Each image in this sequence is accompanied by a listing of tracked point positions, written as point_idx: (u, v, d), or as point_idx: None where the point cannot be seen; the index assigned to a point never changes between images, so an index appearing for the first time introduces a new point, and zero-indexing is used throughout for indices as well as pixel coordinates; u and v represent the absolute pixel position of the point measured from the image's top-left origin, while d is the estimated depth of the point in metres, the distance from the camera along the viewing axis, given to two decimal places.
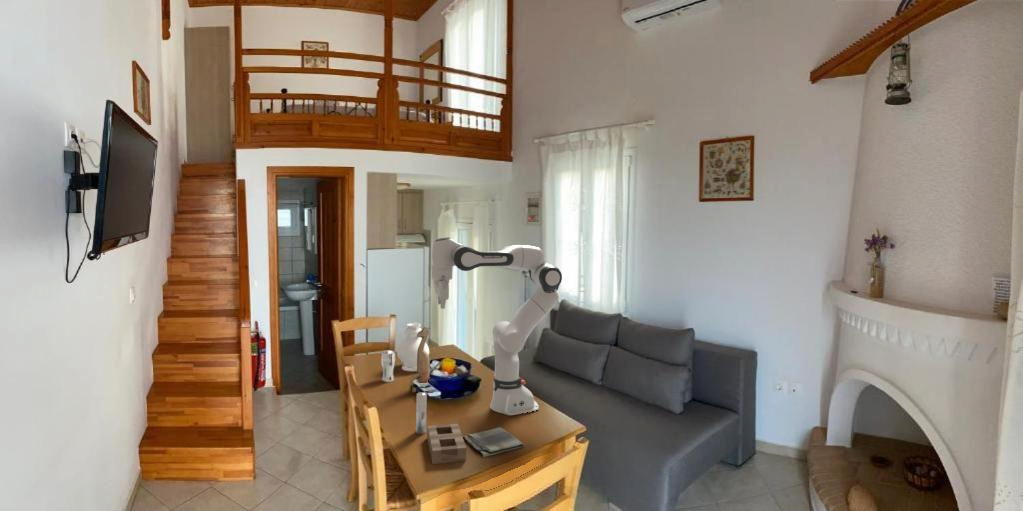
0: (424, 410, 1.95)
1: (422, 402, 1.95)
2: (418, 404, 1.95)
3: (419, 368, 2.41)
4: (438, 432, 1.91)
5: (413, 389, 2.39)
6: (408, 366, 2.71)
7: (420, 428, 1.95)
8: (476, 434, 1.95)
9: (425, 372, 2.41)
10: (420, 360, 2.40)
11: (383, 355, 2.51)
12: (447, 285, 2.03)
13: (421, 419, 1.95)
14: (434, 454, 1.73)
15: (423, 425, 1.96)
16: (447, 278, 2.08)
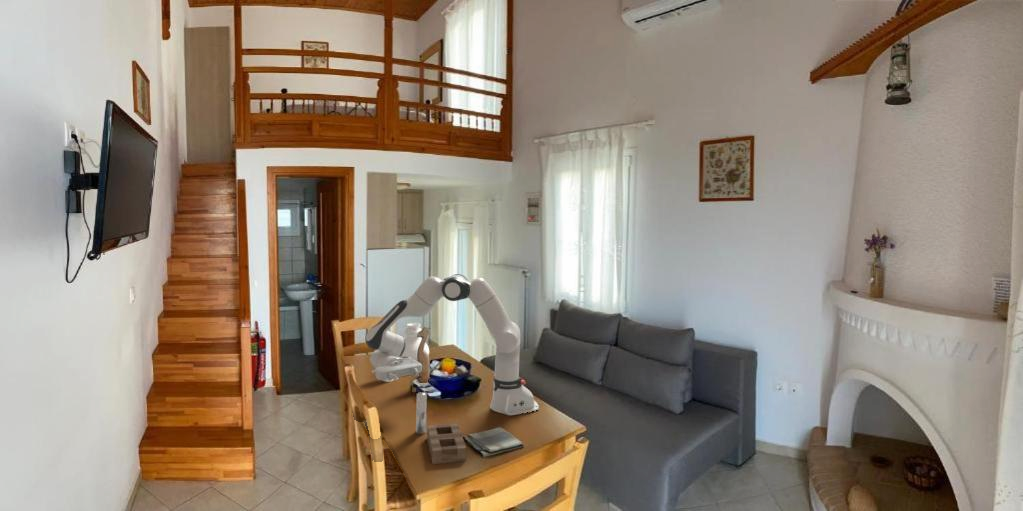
0: (424, 410, 1.95)
1: (422, 402, 1.95)
2: (418, 404, 1.95)
3: None
4: (438, 432, 1.91)
5: (413, 389, 2.39)
6: None
7: (420, 428, 1.95)
8: (476, 434, 1.95)
9: (425, 372, 2.41)
10: (420, 360, 2.40)
11: None
12: (375, 370, 2.07)
13: (421, 419, 1.95)
14: (434, 454, 1.73)
15: (423, 425, 1.96)
16: (385, 364, 2.12)
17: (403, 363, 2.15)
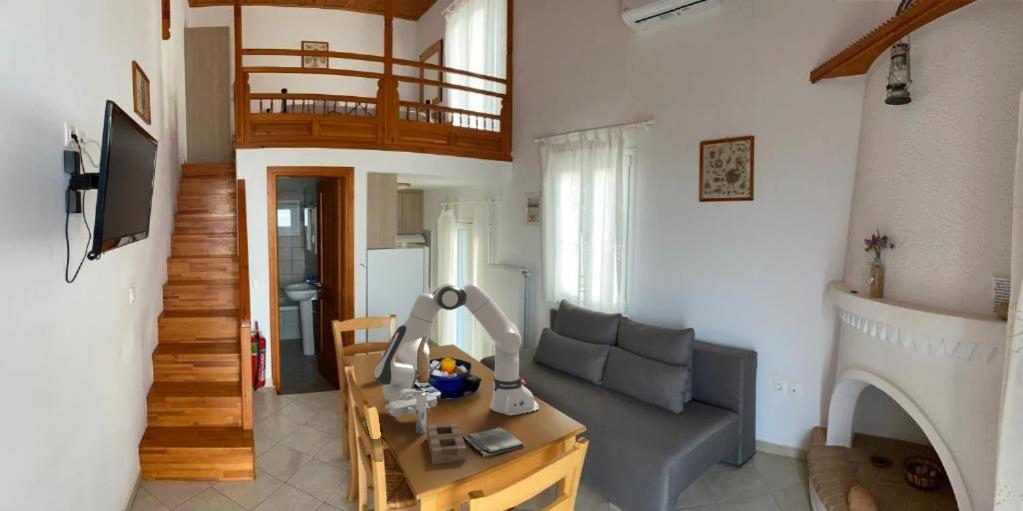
0: (424, 410, 1.95)
1: (422, 402, 1.95)
2: (418, 404, 1.95)
3: (419, 368, 2.41)
4: (438, 432, 1.91)
5: None
6: None
7: (420, 428, 1.95)
8: (476, 434, 1.95)
9: (425, 372, 2.41)
10: (420, 360, 2.40)
11: None
12: (389, 405, 1.98)
13: (421, 419, 1.95)
14: (434, 454, 1.73)
15: (423, 424, 1.96)
16: (398, 398, 2.03)
17: None
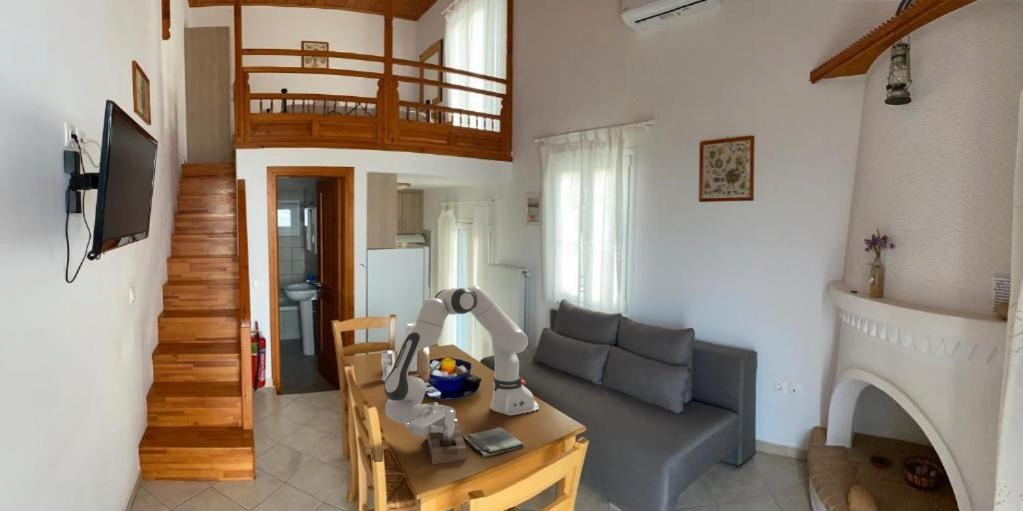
0: (453, 428, 1.78)
1: (452, 420, 1.77)
2: (448, 422, 1.77)
3: (419, 368, 2.41)
4: (438, 432, 1.91)
5: None
6: None
7: None
8: (476, 434, 1.95)
9: (425, 372, 2.41)
10: (420, 360, 2.40)
11: (383, 355, 2.51)
12: (410, 425, 1.75)
13: (451, 439, 1.77)
14: (434, 454, 1.73)
15: (452, 444, 1.78)
16: (416, 416, 1.81)
17: (434, 411, 1.86)
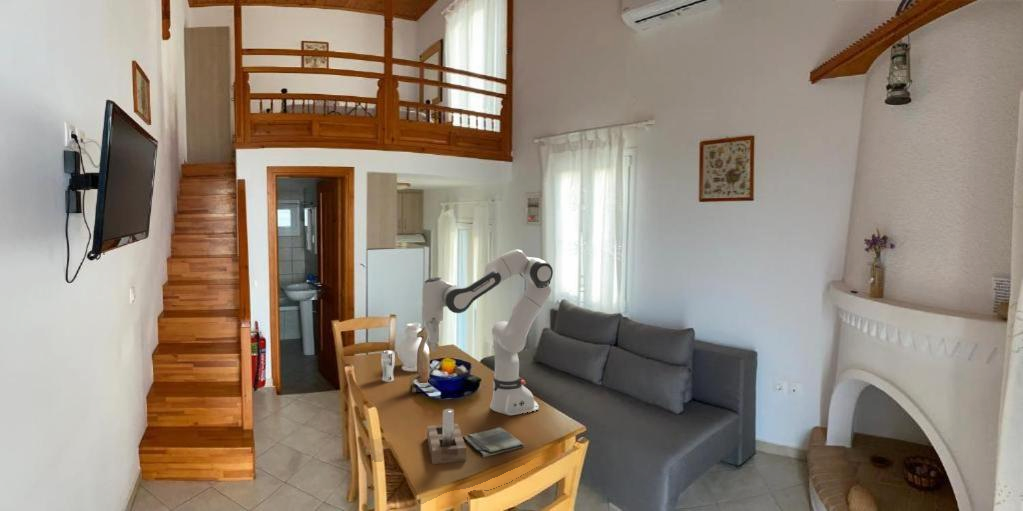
0: (452, 428, 1.78)
1: (451, 420, 1.77)
2: (446, 423, 1.76)
3: (419, 368, 2.41)
4: (438, 432, 1.91)
5: (413, 389, 2.39)
6: (408, 366, 2.71)
7: None
8: (476, 434, 1.94)
9: (425, 372, 2.41)
10: (420, 360, 2.40)
11: (383, 355, 2.51)
12: (437, 328, 1.99)
13: (450, 439, 1.77)
14: (434, 454, 1.73)
15: (452, 444, 1.78)
16: (437, 320, 2.04)
17: None
